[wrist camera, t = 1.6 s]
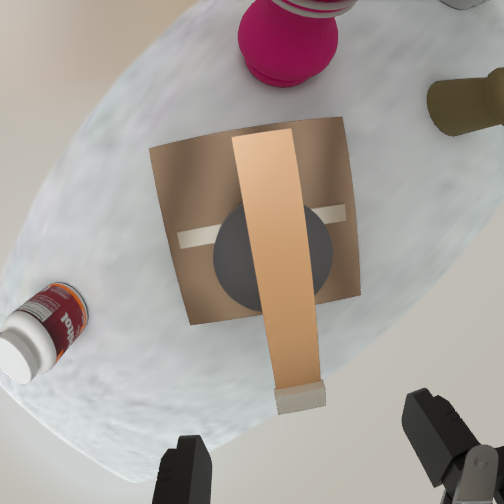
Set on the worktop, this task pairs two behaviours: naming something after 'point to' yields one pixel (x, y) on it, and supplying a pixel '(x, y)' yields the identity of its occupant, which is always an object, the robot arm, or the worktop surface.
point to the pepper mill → (290, 38)
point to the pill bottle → (41, 332)
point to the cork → (467, 103)
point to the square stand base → (229, 196)
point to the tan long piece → (277, 263)
